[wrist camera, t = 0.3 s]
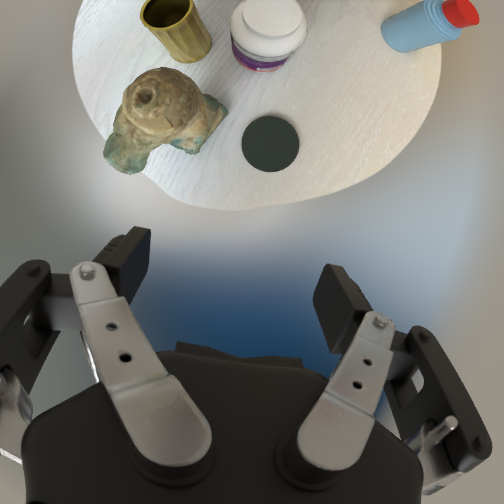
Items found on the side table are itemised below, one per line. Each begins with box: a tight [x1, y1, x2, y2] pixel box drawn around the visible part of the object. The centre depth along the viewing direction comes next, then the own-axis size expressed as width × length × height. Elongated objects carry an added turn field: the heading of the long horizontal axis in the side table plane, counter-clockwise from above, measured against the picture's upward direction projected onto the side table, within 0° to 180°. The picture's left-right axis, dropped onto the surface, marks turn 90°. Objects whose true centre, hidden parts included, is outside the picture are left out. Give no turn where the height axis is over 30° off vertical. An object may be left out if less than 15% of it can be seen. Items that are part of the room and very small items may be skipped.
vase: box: [140, 0, 212, 63], centre depth 23 cm, size 6×6×14 cm
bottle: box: [381, 0, 462, 53], centre depth 21 cm, size 6×6×17 cm
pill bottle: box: [230, 0, 308, 73], centre depth 24 cm, size 8×8×14 cm
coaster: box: [242, 116, 299, 172], centre depth 37 cm, size 8×8×1 cm
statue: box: [103, 67, 228, 175], centre depth 24 cm, size 7×8×25 cm
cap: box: [442, 0, 479, 28], centre depth 14 cm, size 4×4×3 cm
